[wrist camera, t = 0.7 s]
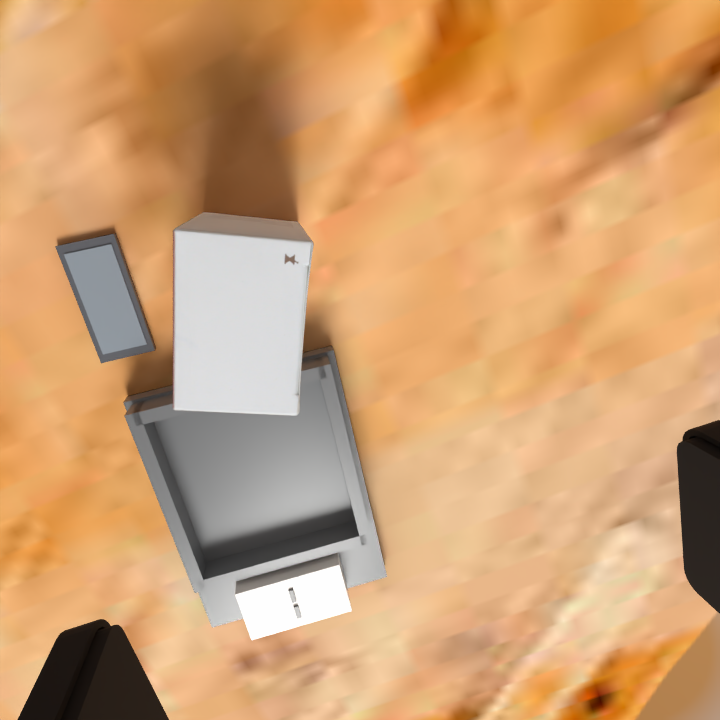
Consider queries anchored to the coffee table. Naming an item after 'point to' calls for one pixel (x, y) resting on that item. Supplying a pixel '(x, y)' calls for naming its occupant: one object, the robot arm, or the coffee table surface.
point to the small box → (239, 314)
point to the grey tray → (264, 502)
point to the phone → (106, 297)
